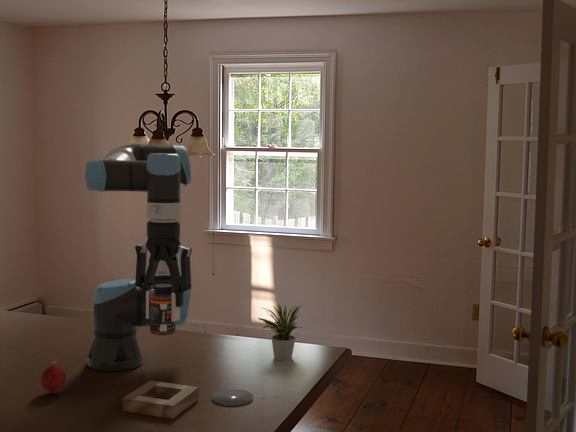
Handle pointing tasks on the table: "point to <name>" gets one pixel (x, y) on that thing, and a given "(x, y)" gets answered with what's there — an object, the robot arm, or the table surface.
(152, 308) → the supplement bottle
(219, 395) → the grey domed disc
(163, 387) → the pocket holder
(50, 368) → the onion
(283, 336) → the house plant
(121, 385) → the table surface
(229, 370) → the table surface
